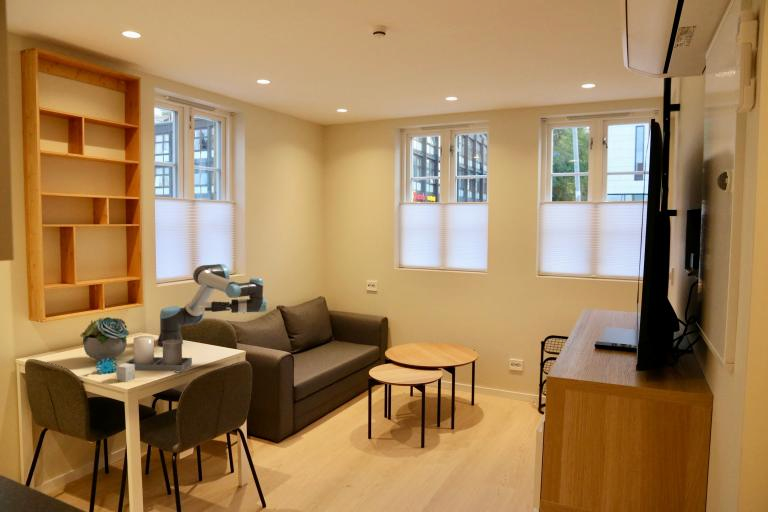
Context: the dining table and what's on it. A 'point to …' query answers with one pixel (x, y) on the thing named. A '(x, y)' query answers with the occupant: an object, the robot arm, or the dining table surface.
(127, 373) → the skincare box
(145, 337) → the white candle
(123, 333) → the flower arrangement
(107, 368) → the gear
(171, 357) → the pillar candle
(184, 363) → the tray
